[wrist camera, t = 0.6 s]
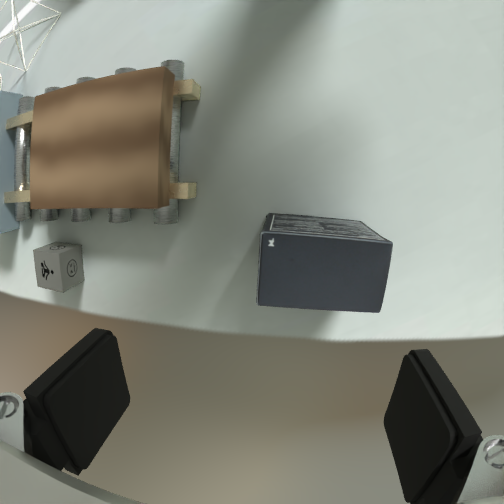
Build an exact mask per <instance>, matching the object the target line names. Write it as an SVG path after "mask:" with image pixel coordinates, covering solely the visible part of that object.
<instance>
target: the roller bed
mask: <svg viewBox="0 0 504 504" xmlns="http://www.w3.org/2000/svg"><path fill="white" fill-rule="evenodd" d="M162 66H165V67H166V68H167V69H169V70H170V71H171V72H172V73H173V74H175V82H174V94H173V109H172V126H171V148H170V189H169V206H166V207H162V208H159V209H154V223H156V224H174V223H177V222H178V199H190V198H194V197H196V183H193V182H178V161H179V135H180V115H181V101H189V100H200V90H201V87H200V86H199V85H198V84H197V83H196V82H195V81H194V80H193V79H189V80H183V74H184V62H182V61H179V60H167V61H164V62H162V63H161V67H162ZM131 71H137V70H136V69H133V68H120V69H117V70H116V71H115V75H116V74H121V73H126V72H131ZM94 79H95V78H92V77H83V78H79V79H77V83H76V84H78V83H82V82H86V81H90V80H94ZM57 89H61V88H60V87H50V88H47V89H45V93H48V92H51V91H54V90H57ZM34 100H35V98H34V97H22V98H20V99H19V104H18V112H17V116H14V117H12V118H9V119H7V121H6V130H16V134H15V151H14V191H10V192H4V203H15V220H16V221H24V220H29V219H31V210H30V143H31V128H32V119H33V108H34ZM56 219H58V214H57V209H40V220H41V221H52V220H56ZM90 219H91V218H90V208H71V221H72V222H81V221H88V220H90ZM128 221H130V208H109V222H112V223H120V222H128Z"/></svg>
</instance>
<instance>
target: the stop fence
mask: <svg viewBox="0 0 504 504" xmlns="http://www.w3.org/2000/svg"><path fill="white" fill-rule="evenodd" d="M22 97H23V95H21V94H16V93H11V92H5V91H0V234H1V233H5V232H8V231H11V230H15V229H19V221H16V220H15V203H4V192H10V191H14V151H15V134H16V130H6V121H7V119H9V118H12V117H14V116H17V112H18V104H19V99H20V98H22Z"/></svg>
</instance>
